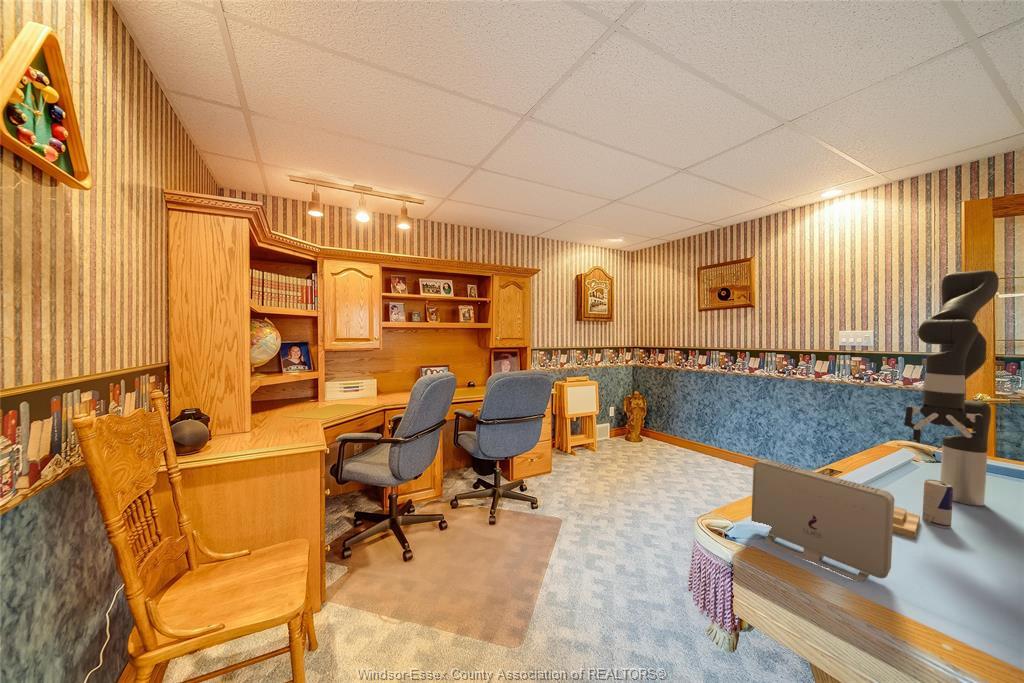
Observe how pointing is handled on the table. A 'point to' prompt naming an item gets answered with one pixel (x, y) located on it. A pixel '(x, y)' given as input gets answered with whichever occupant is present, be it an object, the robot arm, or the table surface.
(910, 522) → the plinth
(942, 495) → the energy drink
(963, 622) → the table surface
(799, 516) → the network device
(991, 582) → the table surface
